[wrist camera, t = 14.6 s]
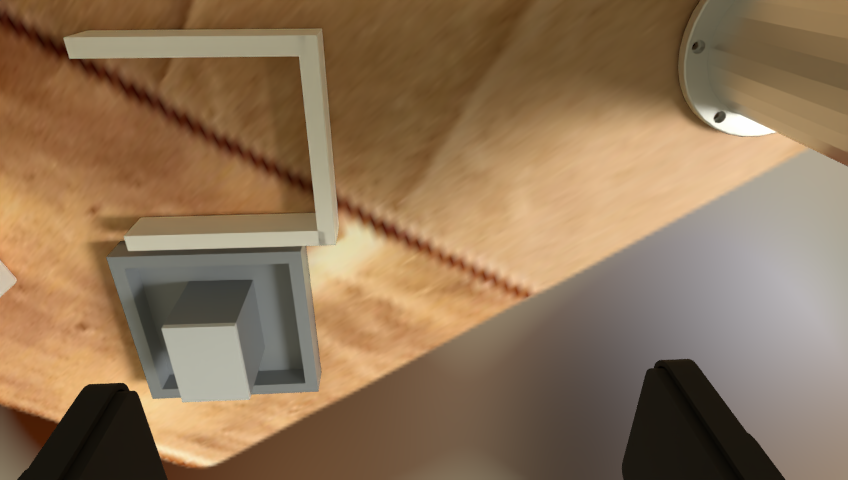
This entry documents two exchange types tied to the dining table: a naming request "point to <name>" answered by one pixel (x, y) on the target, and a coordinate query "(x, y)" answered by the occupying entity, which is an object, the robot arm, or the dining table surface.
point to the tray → (172, 270)
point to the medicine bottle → (6, 279)
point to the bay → (314, 85)
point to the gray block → (215, 340)
